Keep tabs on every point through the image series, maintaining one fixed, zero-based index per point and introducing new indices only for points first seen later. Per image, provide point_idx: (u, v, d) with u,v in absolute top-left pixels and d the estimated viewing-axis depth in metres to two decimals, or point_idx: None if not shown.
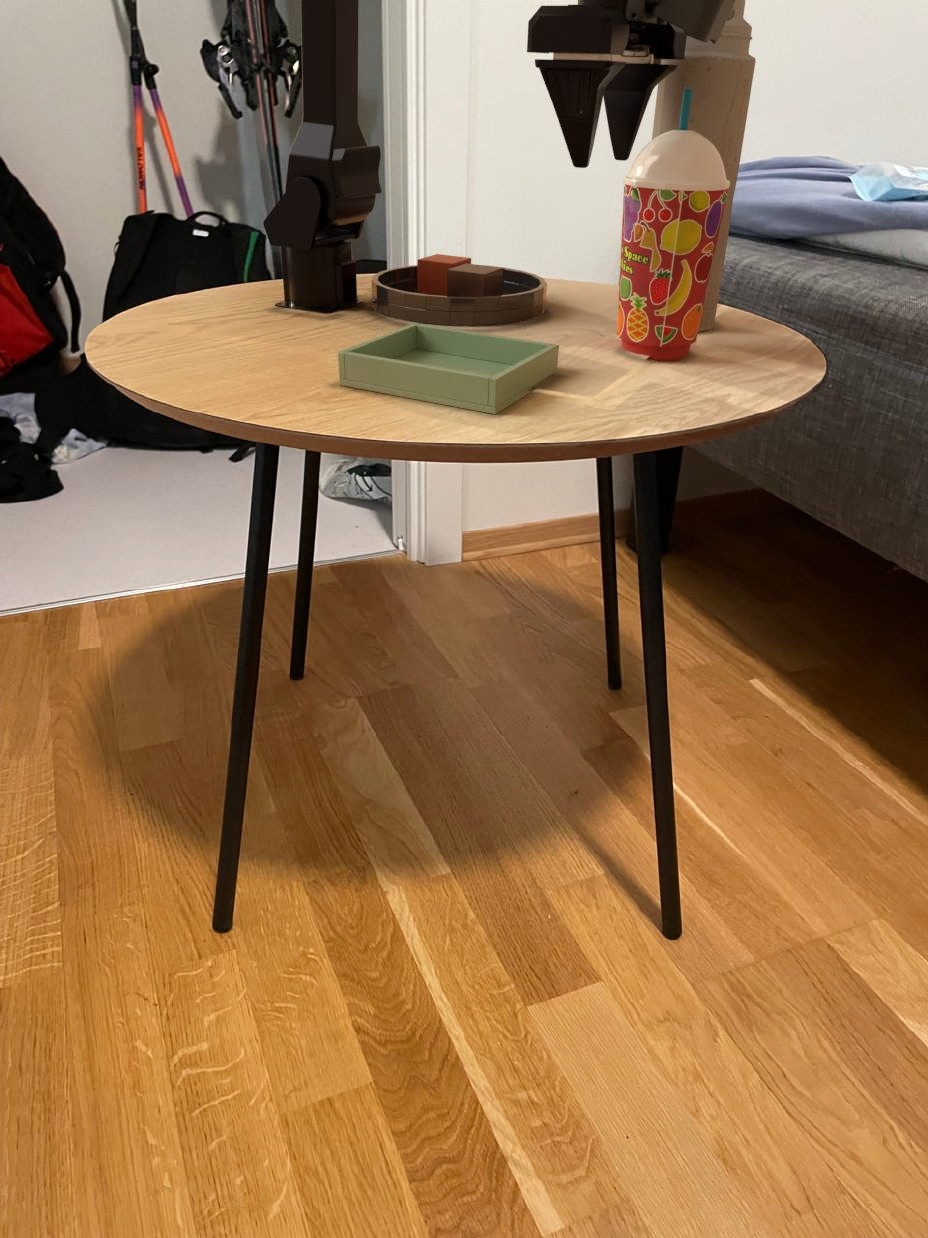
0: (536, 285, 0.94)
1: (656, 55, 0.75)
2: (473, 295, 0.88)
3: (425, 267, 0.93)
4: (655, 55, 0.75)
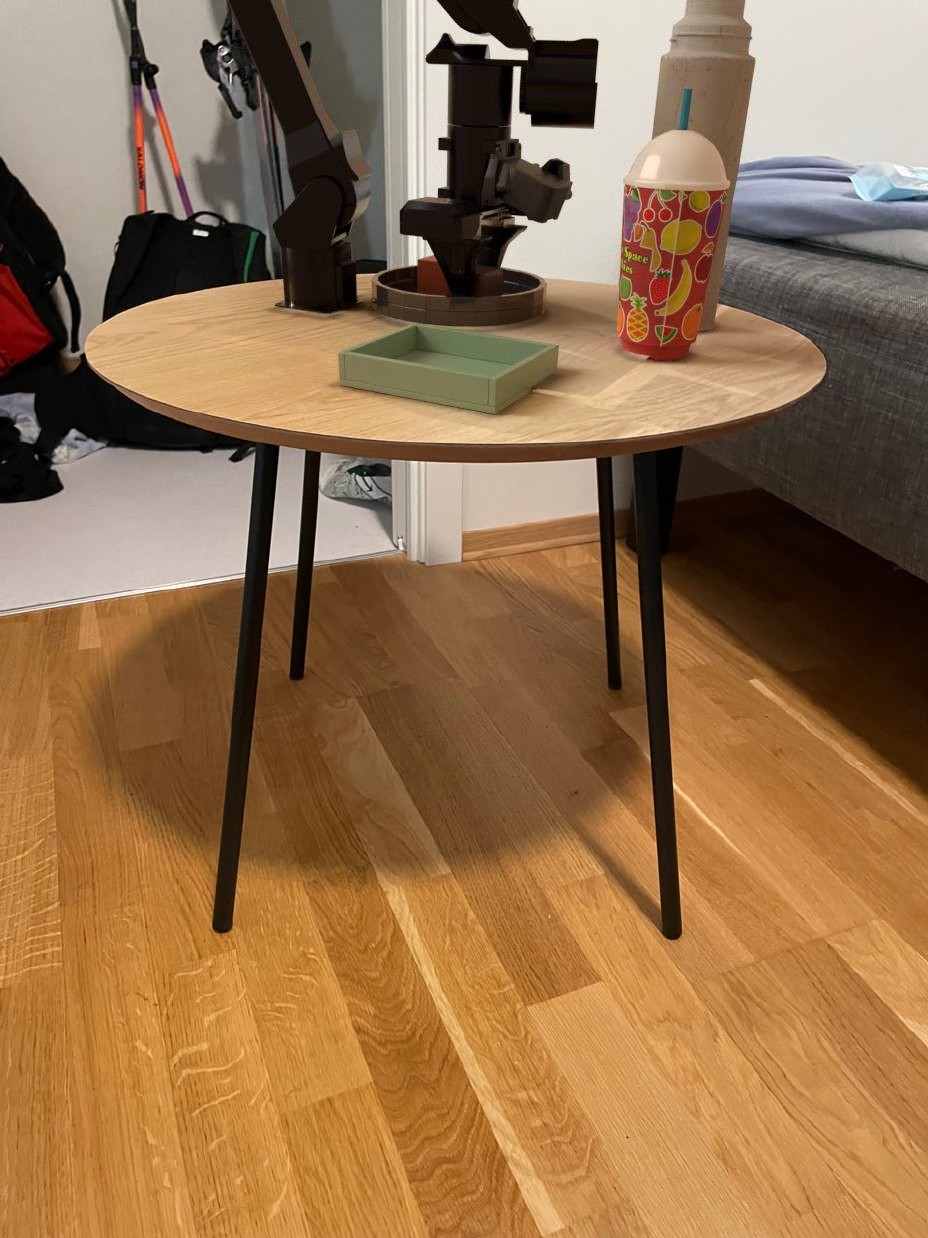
0: (536, 285, 0.94)
1: (508, 219, 0.90)
2: (473, 295, 0.88)
3: (425, 267, 0.93)
4: (507, 219, 0.89)
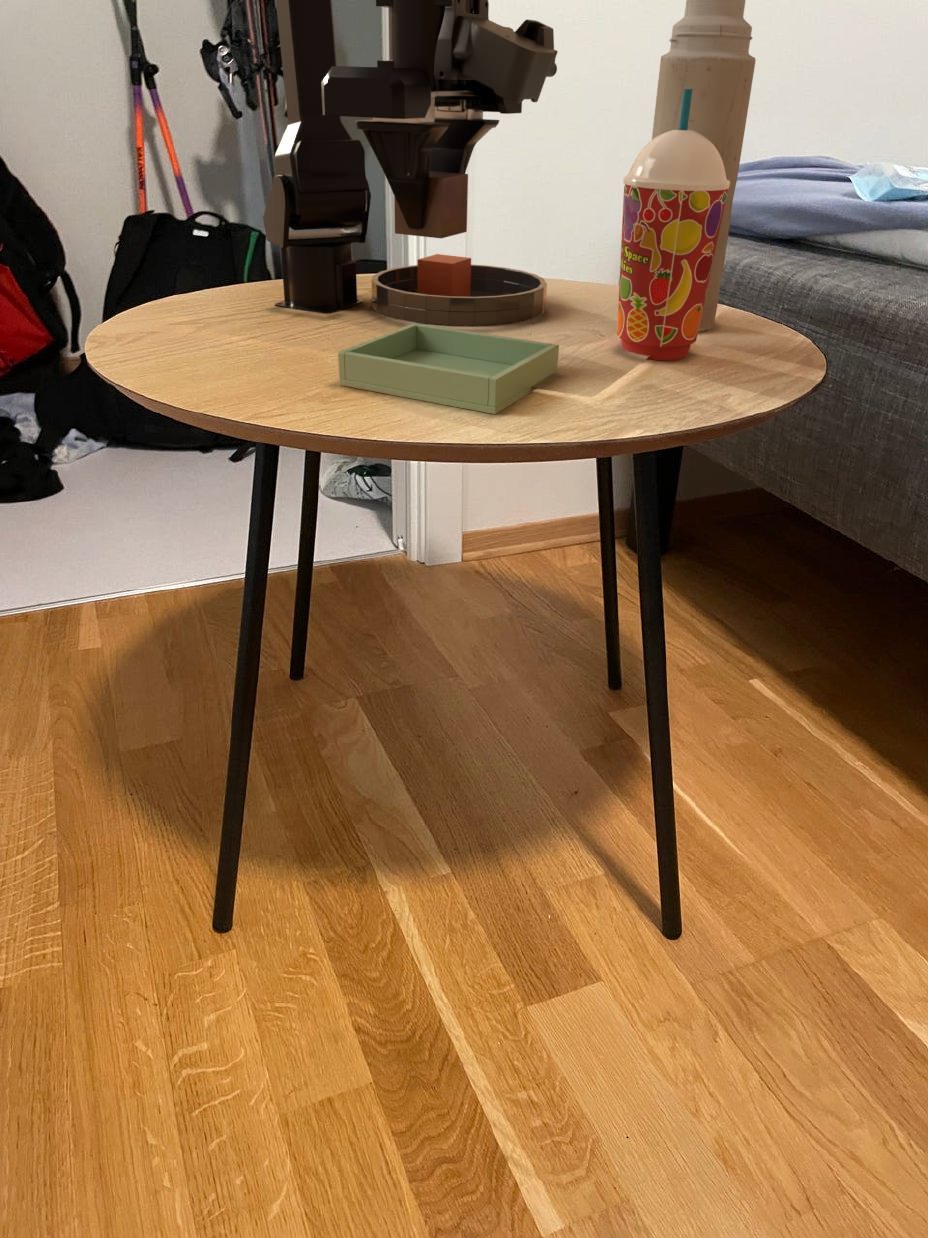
0: (536, 285, 0.94)
1: (474, 110, 0.68)
2: (428, 208, 0.67)
3: (425, 267, 0.93)
4: (472, 110, 0.68)
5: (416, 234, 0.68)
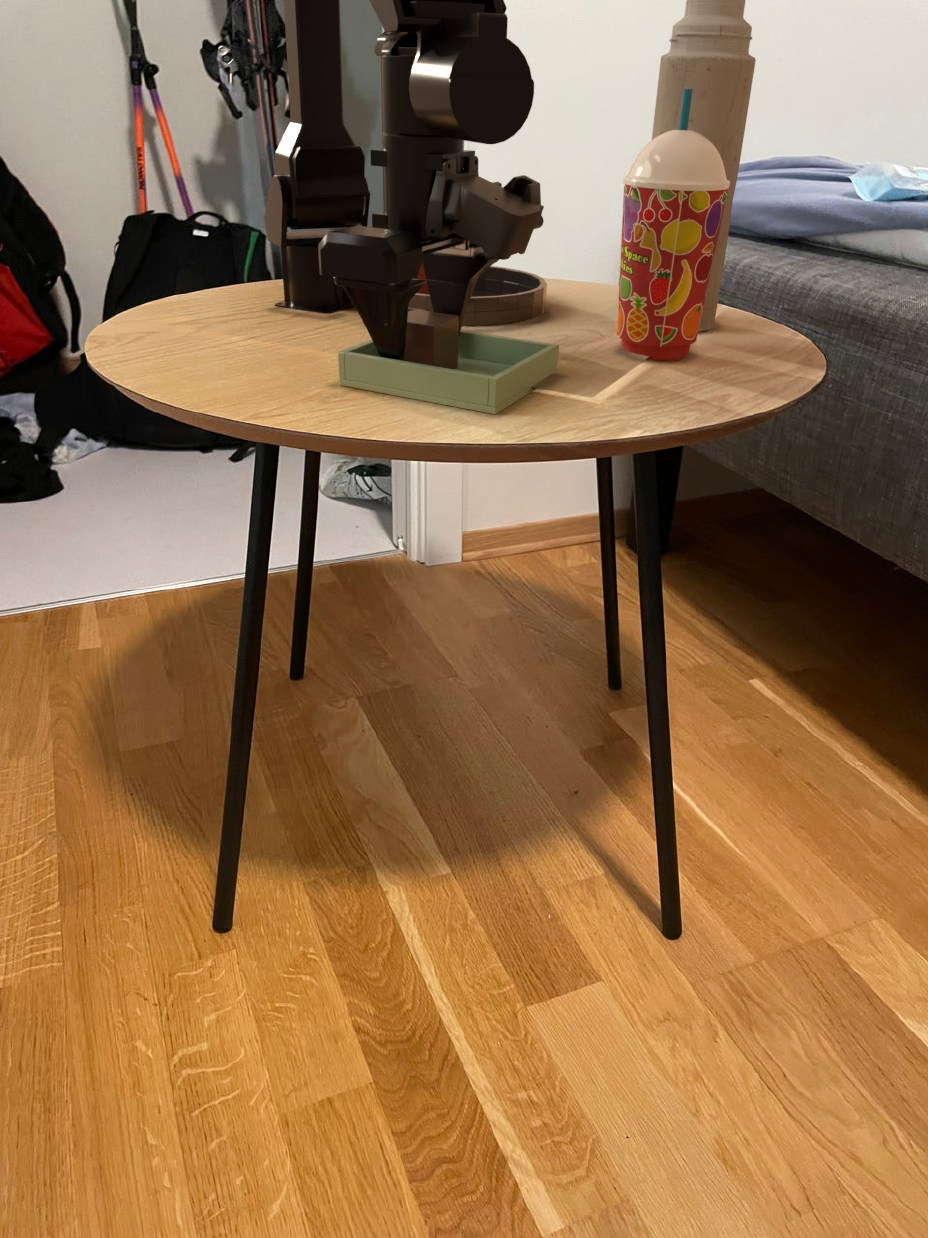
0: (536, 285, 0.94)
1: (477, 247, 0.73)
2: (420, 351, 0.70)
3: None
4: (476, 248, 0.73)
5: None
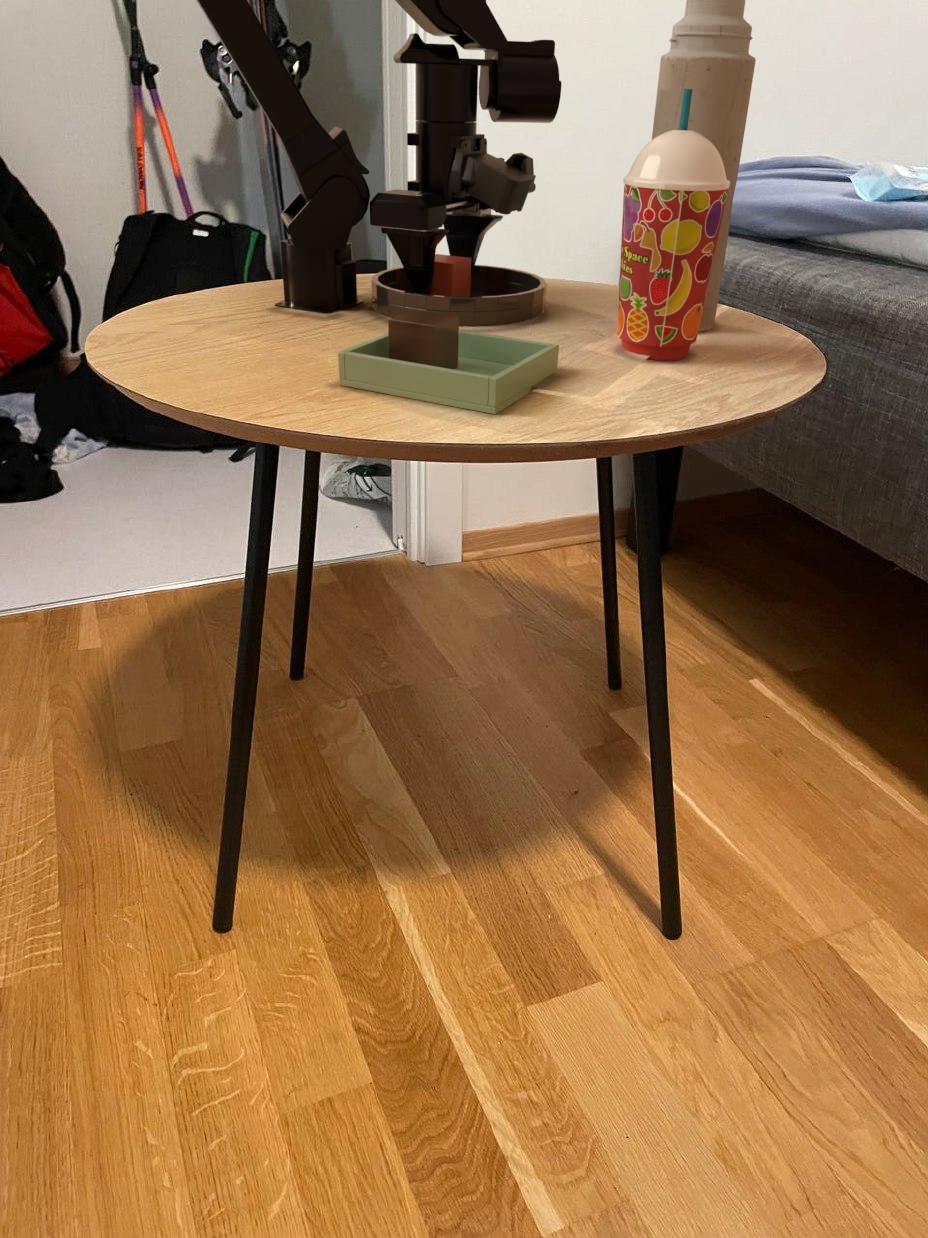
0: (536, 285, 0.94)
1: (485, 209, 0.95)
2: (420, 351, 0.70)
3: None
4: (484, 210, 0.95)
5: None
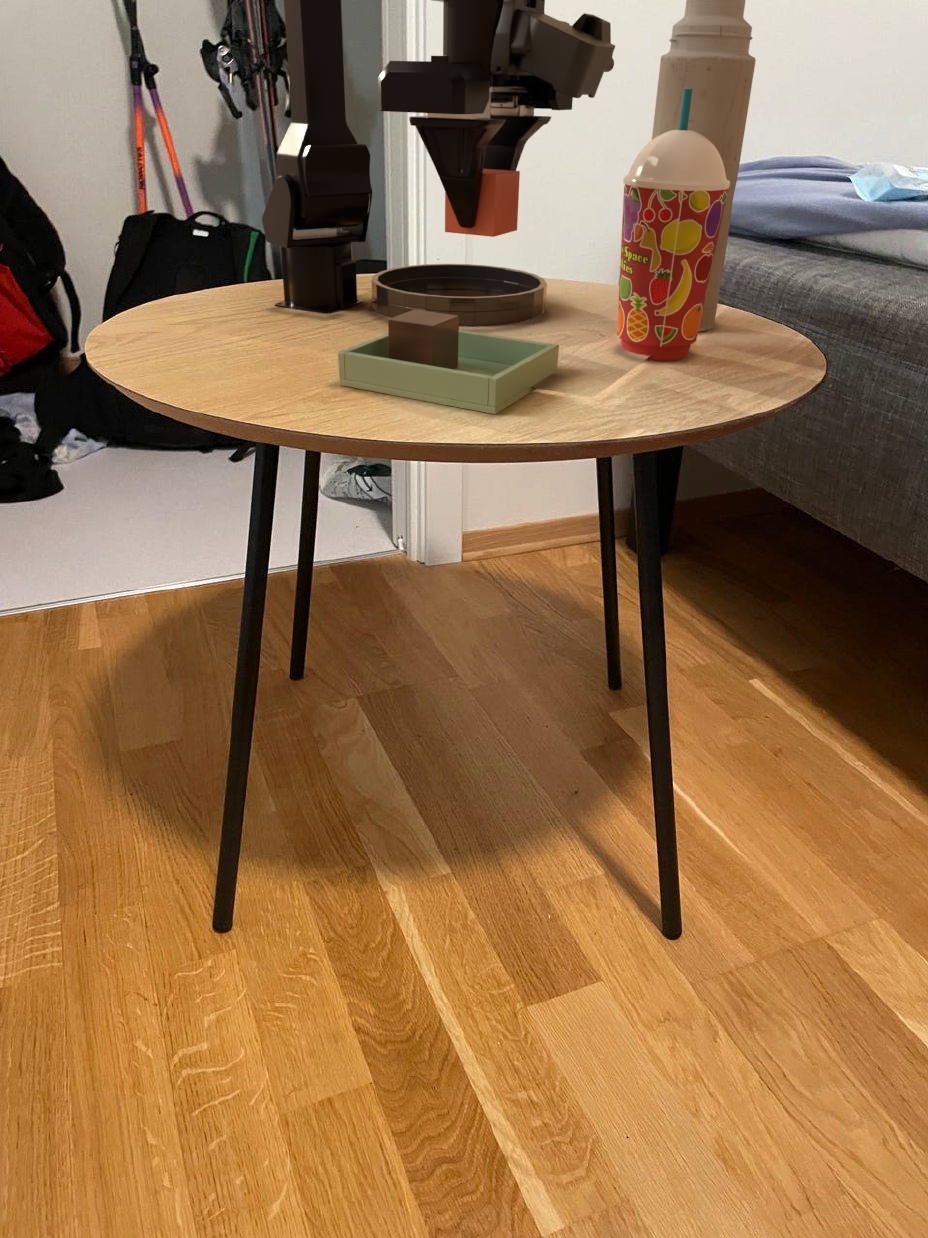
0: (536, 285, 0.94)
1: (526, 106, 0.67)
2: (420, 351, 0.70)
3: None
4: (524, 106, 0.67)
5: None
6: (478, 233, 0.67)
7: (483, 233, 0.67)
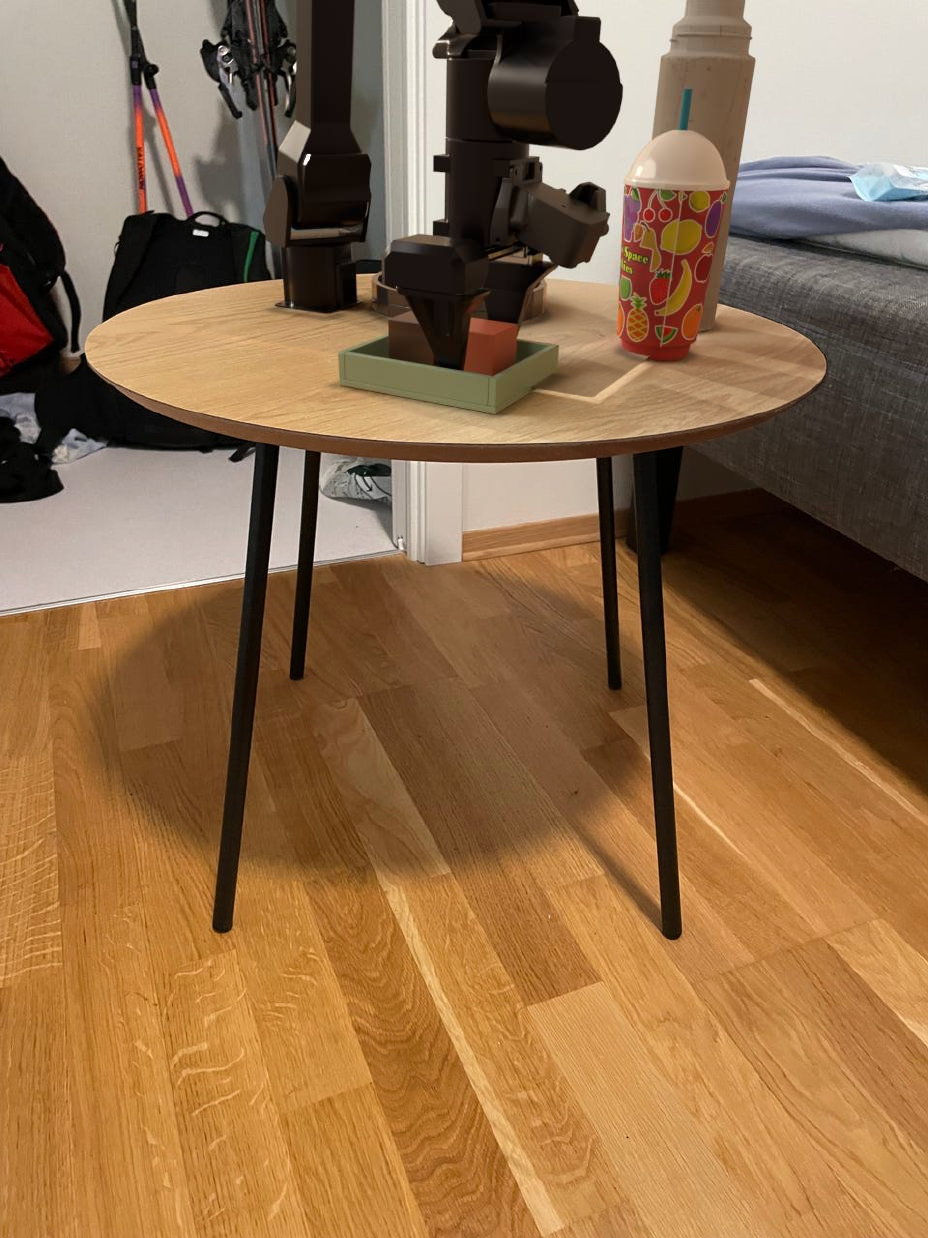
0: (536, 285, 0.94)
1: (535, 255, 0.71)
2: (420, 351, 0.70)
3: None
4: (534, 256, 0.71)
5: None
6: None
7: None
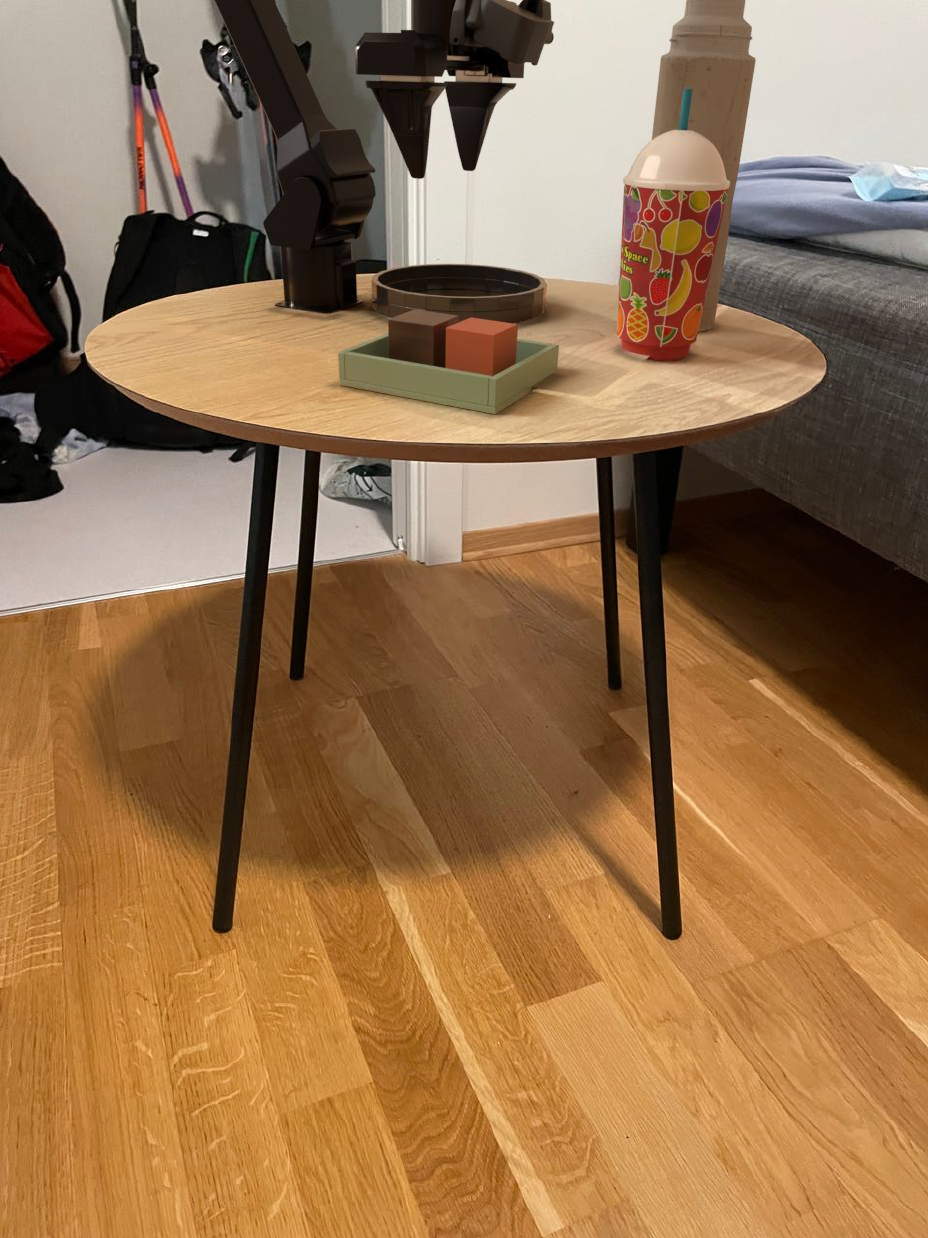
0: (536, 285, 0.94)
1: (495, 74, 0.81)
2: (420, 351, 0.70)
3: (456, 338, 0.68)
4: (494, 74, 0.81)
5: None
6: None
7: None
